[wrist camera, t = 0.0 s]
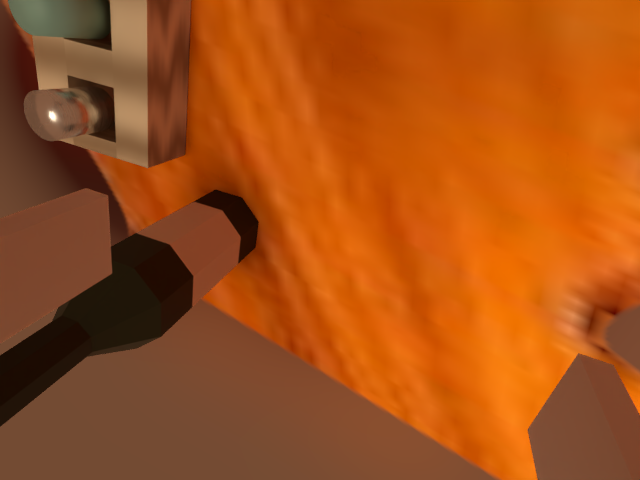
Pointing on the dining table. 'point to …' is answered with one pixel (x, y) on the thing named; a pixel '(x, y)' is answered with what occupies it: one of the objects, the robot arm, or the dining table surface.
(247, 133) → the dining table surface
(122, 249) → the wine bottle
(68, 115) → the steel peg
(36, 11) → the teal peg
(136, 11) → the socket block
